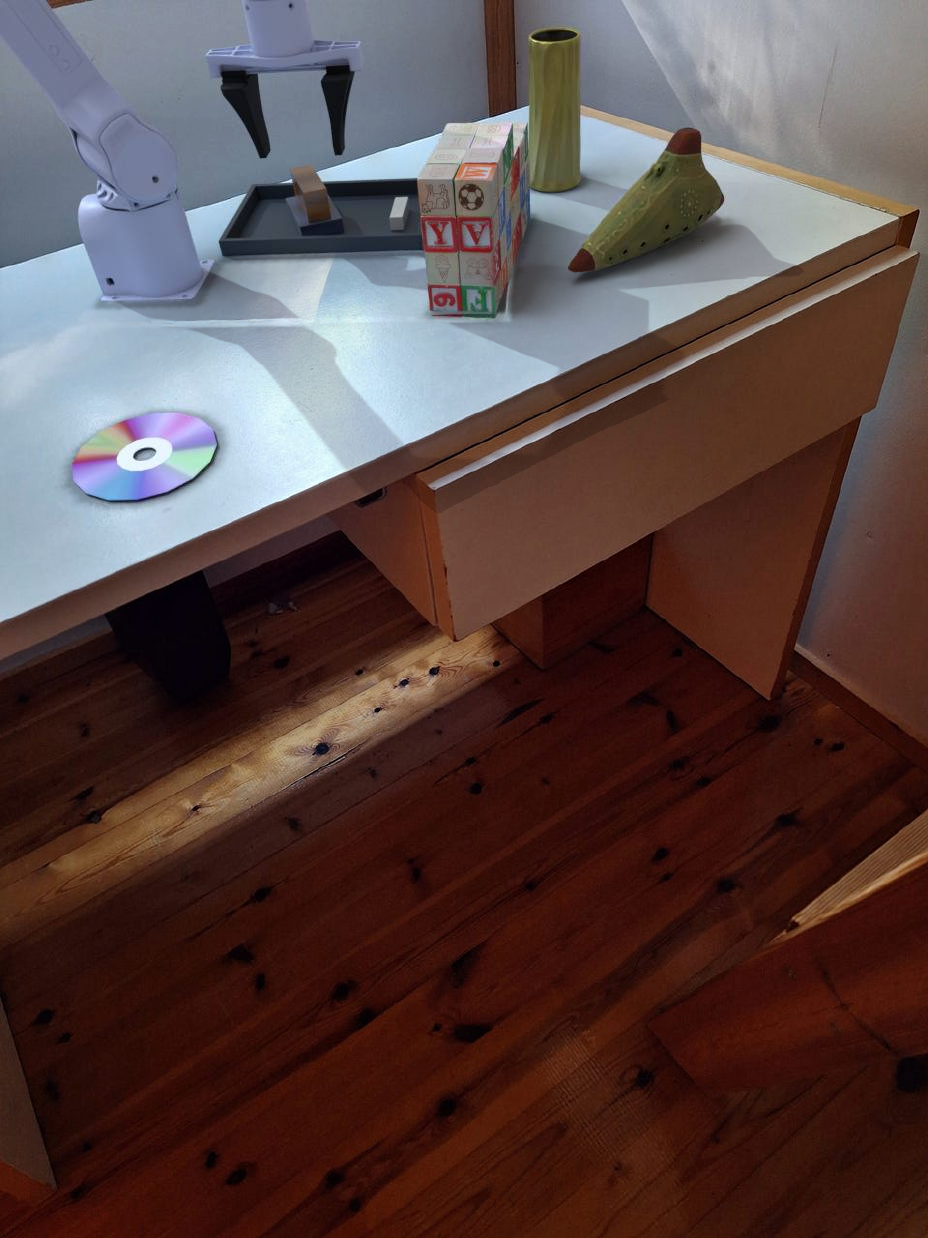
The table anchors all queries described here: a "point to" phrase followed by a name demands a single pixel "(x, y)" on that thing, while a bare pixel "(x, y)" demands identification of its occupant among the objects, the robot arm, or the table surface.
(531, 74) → the vase
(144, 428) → the cd
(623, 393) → the table surface
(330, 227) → the eraser
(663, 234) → the ocarina
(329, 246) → the tray
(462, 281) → the stack of blocks
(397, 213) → the chalk
